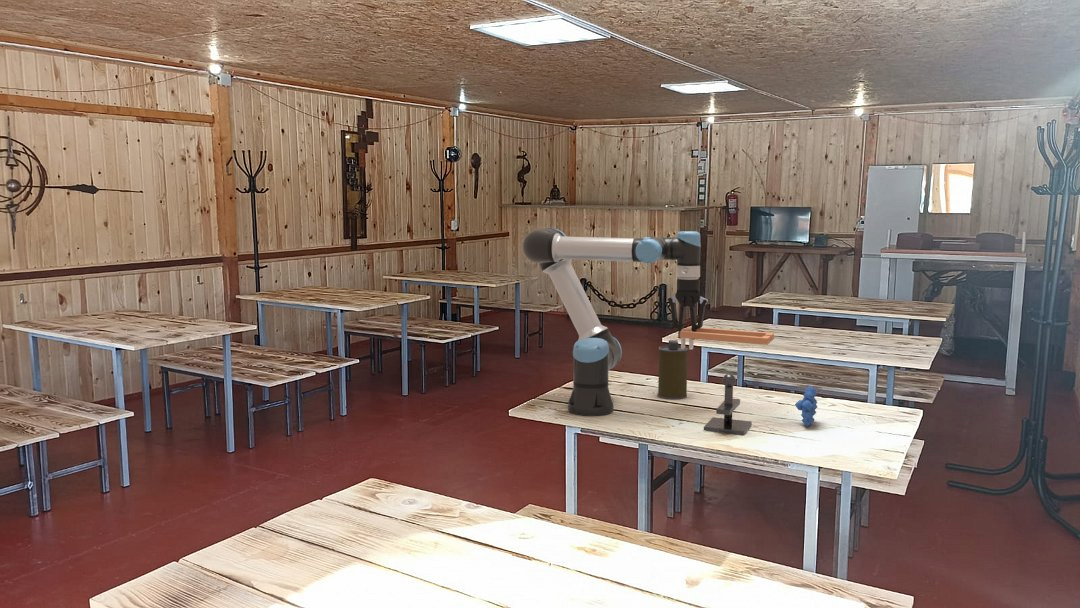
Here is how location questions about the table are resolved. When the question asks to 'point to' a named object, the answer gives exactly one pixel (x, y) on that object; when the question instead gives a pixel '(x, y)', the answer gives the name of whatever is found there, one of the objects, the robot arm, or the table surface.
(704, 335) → the link
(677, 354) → the canister
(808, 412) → the grapes
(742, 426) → the stand
